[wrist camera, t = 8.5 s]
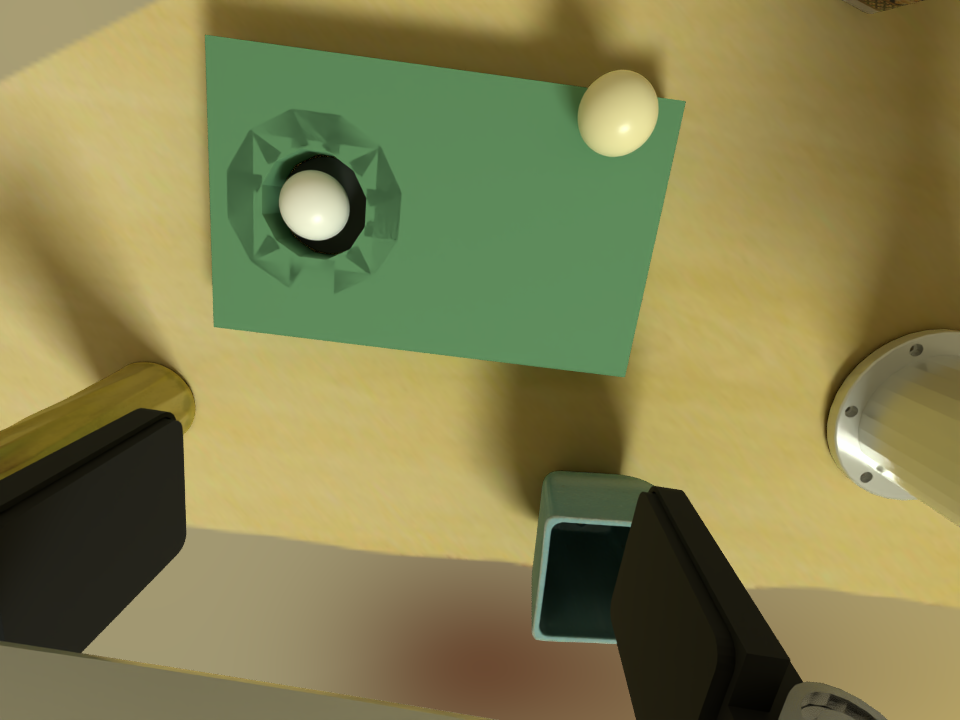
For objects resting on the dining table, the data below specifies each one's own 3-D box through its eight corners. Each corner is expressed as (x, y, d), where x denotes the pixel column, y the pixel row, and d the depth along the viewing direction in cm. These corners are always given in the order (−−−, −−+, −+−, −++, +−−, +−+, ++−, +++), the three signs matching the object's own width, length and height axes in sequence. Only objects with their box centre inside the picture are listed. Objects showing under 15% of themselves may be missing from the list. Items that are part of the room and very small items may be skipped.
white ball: (348, 175, 32) (353, 174, 28) (345, 240, 33) (350, 247, 29) (280, 166, 30) (277, 164, 27) (280, 233, 31) (276, 240, 28)
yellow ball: (651, 86, 27) (679, 65, 23) (635, 164, 28) (659, 157, 24) (578, 75, 27) (594, 54, 23) (565, 155, 28) (578, 146, 24)
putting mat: (666, 111, 30) (685, 101, 27) (613, 363, 35) (624, 377, 32) (232, 51, 29) (204, 34, 27) (236, 316, 34) (213, 326, 31)
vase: (135, 343, 35) (-92, 431, 21) (212, 395, 36) (44, 511, 22) (96, 407, 36) (-141, 528, 22) (171, 455, 37) (-11, 599, 23)
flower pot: (651, 452, 37) (702, 526, 28) (632, 553, 39) (674, 649, 31) (531, 444, 37) (546, 516, 28) (520, 546, 39) (530, 640, 31)
